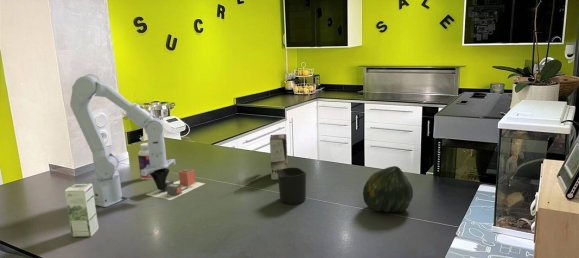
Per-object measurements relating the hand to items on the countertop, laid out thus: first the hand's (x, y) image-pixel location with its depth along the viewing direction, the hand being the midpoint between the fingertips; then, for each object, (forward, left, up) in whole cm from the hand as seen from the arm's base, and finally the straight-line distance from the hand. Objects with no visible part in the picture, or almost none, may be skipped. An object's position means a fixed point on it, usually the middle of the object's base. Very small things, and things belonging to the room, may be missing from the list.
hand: (161, 189), depth 154 cm
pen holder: (+15, -45, -2) cm, 48 cm away
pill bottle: (+12, +18, -2) cm, 21 cm away
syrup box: (-33, -2, -2) cm, 33 cm away
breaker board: (+4, -3, -2) cm, 6 cm away
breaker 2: (0, -6, -1) cm, 6 cm away
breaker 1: (+3, 0, -1) cm, 3 cm away
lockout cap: (+10, -3, -1) cm, 11 cm away
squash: (+21, -76, -2) cm, 79 cm away
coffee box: (+35, -28, -2) cm, 46 cm away
